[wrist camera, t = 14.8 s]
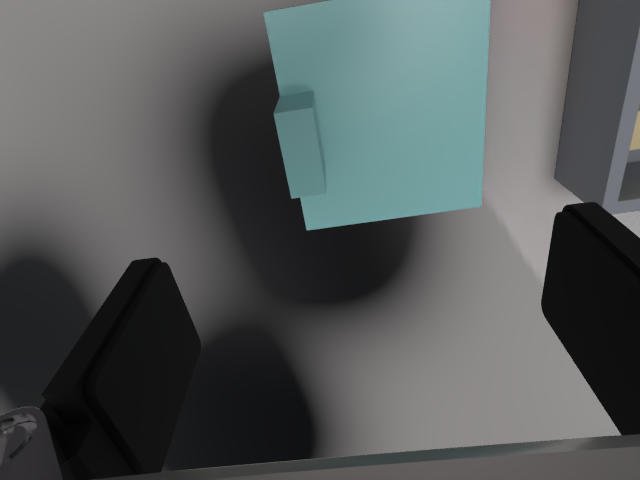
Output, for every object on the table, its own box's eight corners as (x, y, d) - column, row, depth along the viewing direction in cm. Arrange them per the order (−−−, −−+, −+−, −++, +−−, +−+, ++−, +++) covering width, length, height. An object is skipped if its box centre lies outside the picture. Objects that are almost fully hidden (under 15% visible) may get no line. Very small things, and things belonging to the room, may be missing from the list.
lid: (267, 10, 30) (253, 16, 24) (479, -28, 29) (524, -32, 23) (307, 216, 39) (304, 262, 33) (472, 194, 38) (503, 236, 31)
